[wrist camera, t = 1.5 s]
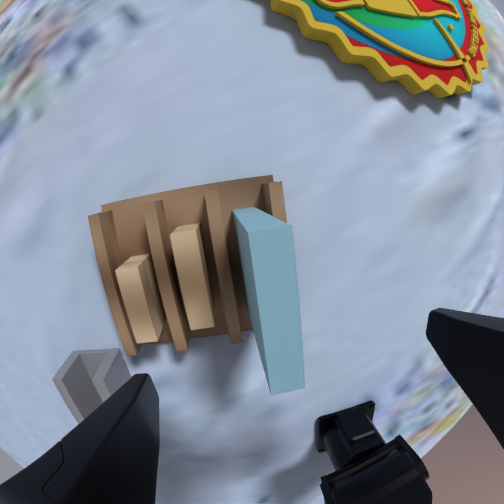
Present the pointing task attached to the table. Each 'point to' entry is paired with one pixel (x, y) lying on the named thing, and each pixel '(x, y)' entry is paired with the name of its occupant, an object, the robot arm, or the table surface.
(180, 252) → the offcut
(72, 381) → the holder
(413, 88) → the decorative plaque
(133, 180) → the table surface
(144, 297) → the offcut small
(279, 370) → the tall sheet
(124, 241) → the rack
